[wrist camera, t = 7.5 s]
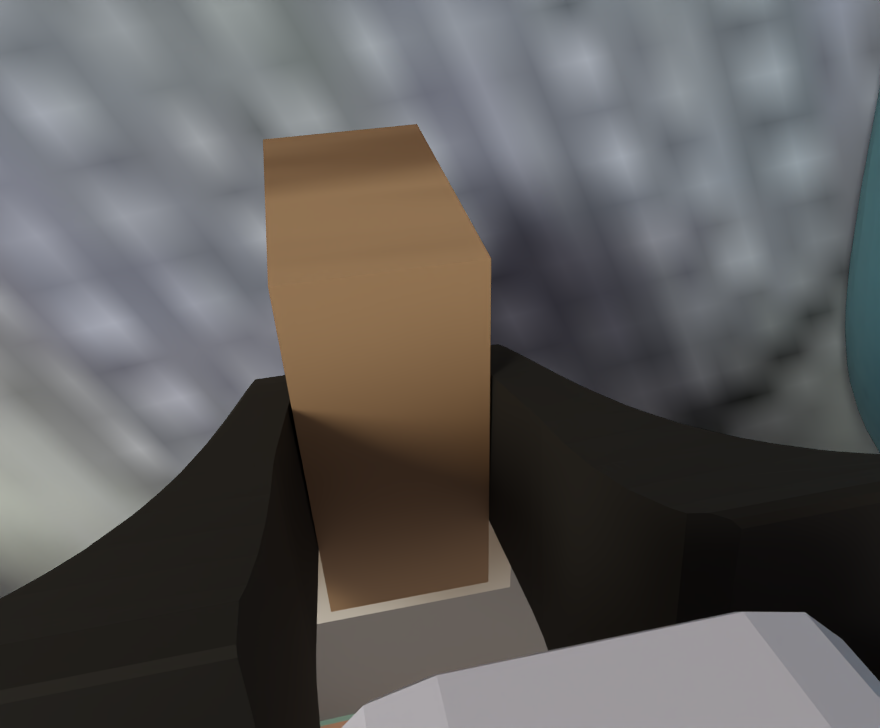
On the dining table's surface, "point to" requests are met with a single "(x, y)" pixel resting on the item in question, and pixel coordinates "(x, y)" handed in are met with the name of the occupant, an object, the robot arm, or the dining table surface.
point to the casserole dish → (866, 293)
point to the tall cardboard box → (384, 366)
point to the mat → (419, 645)
